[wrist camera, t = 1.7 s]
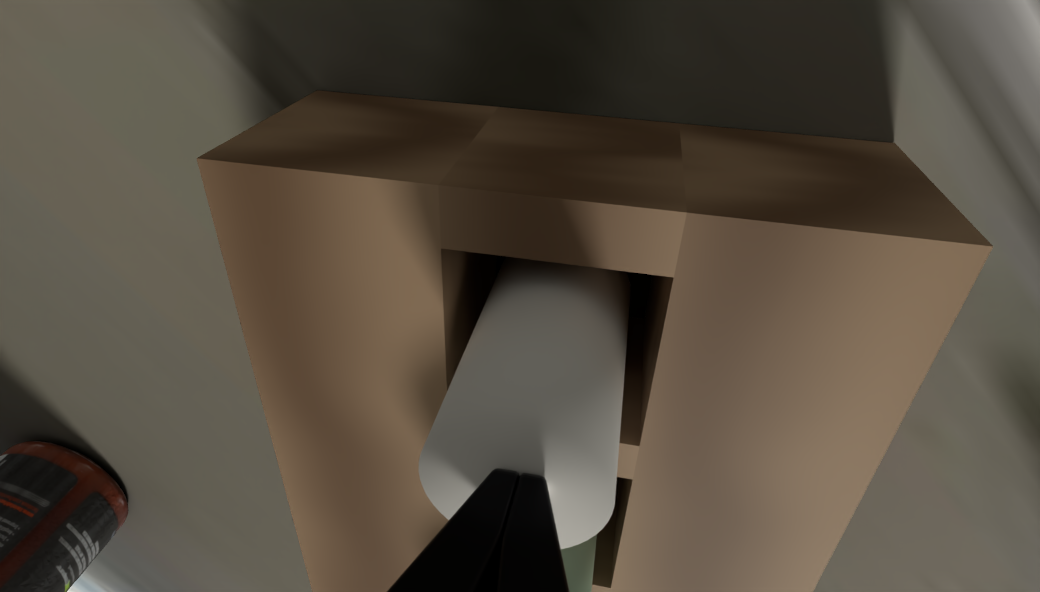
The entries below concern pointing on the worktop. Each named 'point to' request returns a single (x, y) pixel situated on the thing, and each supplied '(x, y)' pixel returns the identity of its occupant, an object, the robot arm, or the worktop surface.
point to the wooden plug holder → (650, 341)
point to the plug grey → (538, 394)
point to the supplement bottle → (53, 516)
